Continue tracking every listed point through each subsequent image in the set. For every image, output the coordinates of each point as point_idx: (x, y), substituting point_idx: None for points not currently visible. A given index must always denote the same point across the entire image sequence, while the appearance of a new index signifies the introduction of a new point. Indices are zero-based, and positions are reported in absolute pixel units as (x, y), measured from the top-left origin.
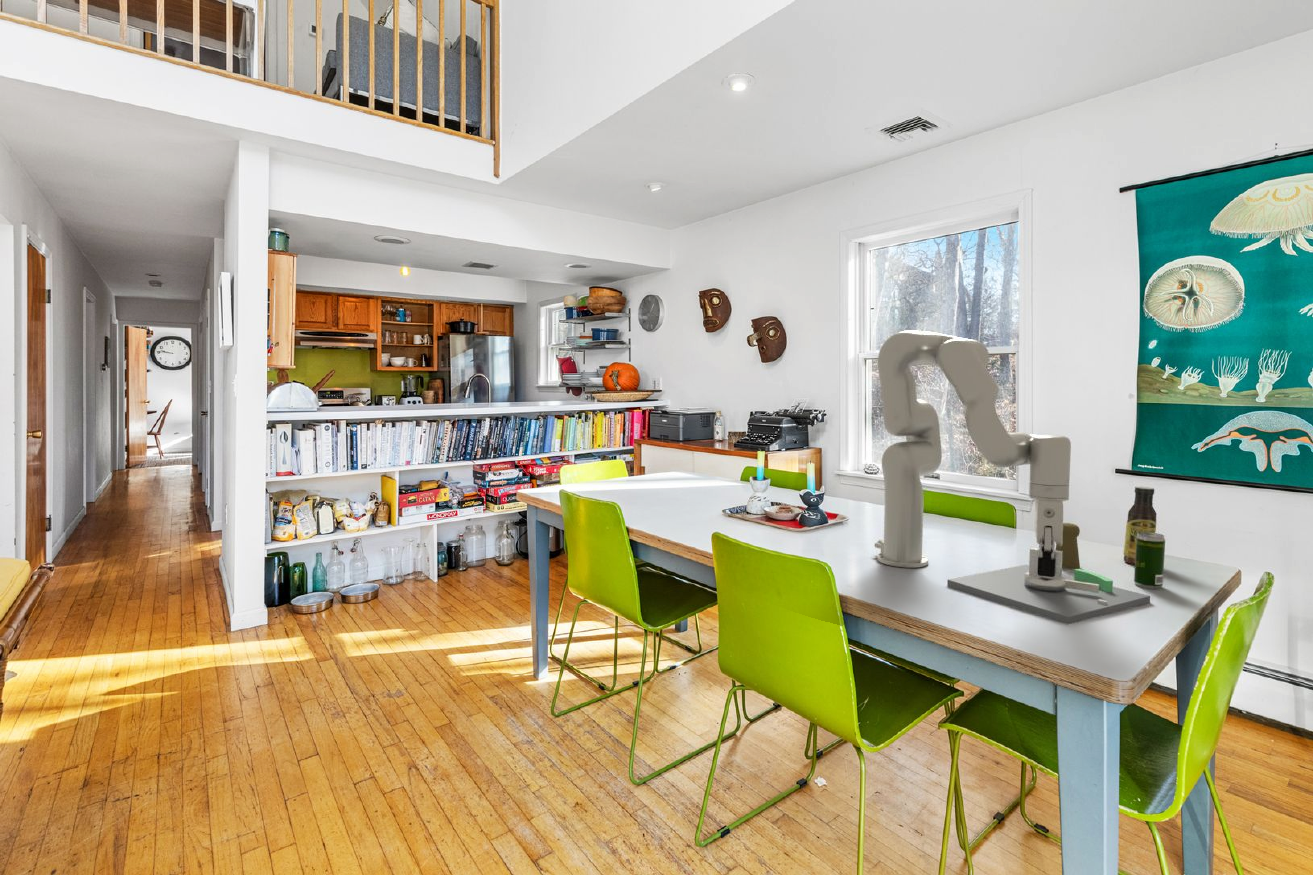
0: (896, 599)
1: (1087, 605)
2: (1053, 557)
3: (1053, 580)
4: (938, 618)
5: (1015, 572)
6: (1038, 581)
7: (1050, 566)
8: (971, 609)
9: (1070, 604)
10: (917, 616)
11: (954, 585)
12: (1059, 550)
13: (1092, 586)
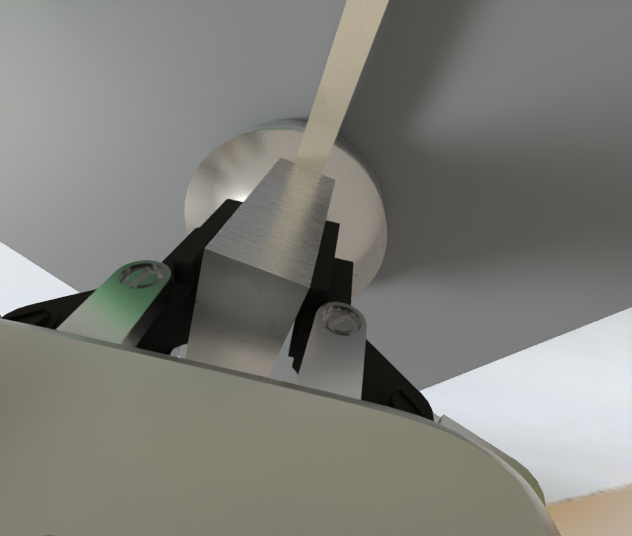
0: None
1: (626, 76)
2: (366, 328)
3: (352, 218)
4: (584, 477)
5: (104, 265)
6: (367, 282)
7: (350, 284)
8: (517, 421)
9: (591, 174)
10: (564, 496)
11: None
12: None
13: None
